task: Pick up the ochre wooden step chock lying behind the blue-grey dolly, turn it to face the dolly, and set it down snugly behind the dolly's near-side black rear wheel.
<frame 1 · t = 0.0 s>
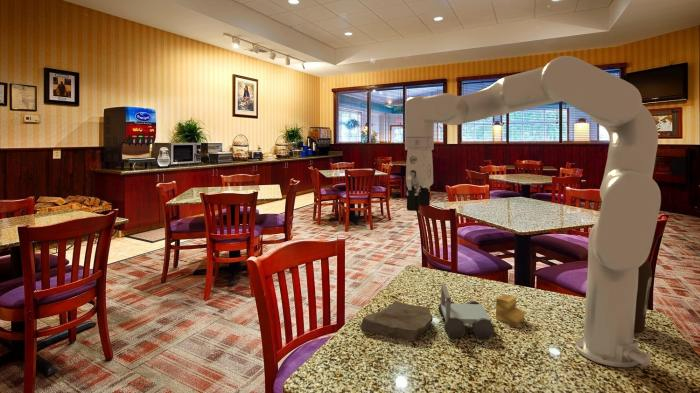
hand: (418, 208, 109), 31 cm above the table, tool pointing down, fingers open, 9 cm apart
trolley: (464, 327, 106), on the table
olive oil: (622, 326, 107), on the table
marble piece: (399, 327, 108), on the table
wheel chock: (509, 319, 111), on the table
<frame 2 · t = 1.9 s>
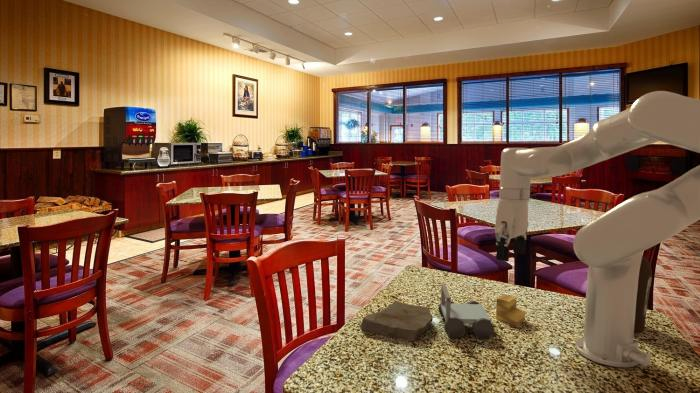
hand: (510, 256, 109), 18 cm above the table, tool pointing down, fingers open, 9 cm apart
nothing on the table moved.
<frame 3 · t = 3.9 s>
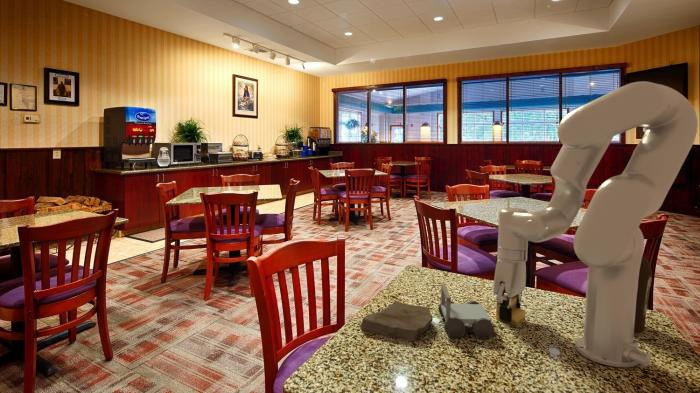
hand: (509, 317, 111), 1 cm above the table, tool pointing down, fingers closed on wheel chock, 4 cm apart
wheel chock: (510, 319, 111), on the table, touching gripper
everything else where it was.
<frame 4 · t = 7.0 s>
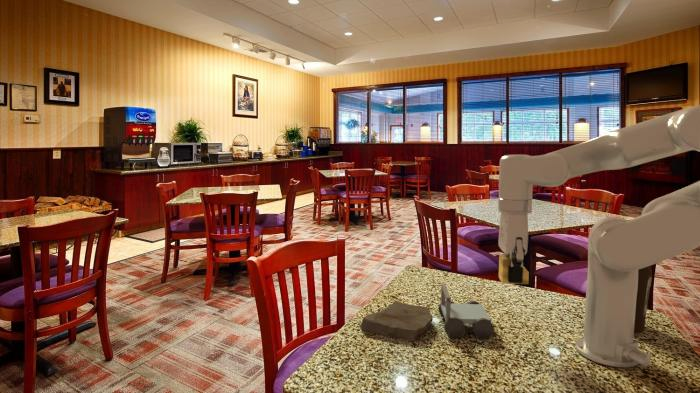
hand: (512, 278, 99), 15 cm above the table, tool pointing down, fingers closed on wheel chock, 4 cm apart
wheel chock: (513, 280, 99), point 15 cm above the table, touching gripper
everything else where it was.
when the fingers open (2 cm above the table, at t = 10.2 s): wheel chock stays where it is, on the table.
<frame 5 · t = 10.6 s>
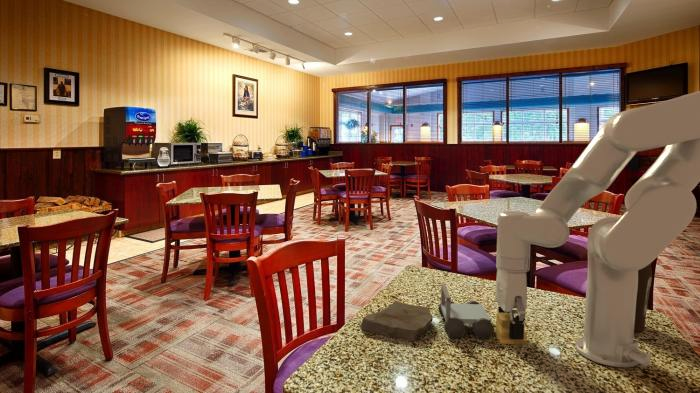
hand: (510, 329, 100), 2 cm above the table, tool pointing down, fingers open, 9 cm apart
wheel chock: (510, 339, 100), on the table
everything else where it was.
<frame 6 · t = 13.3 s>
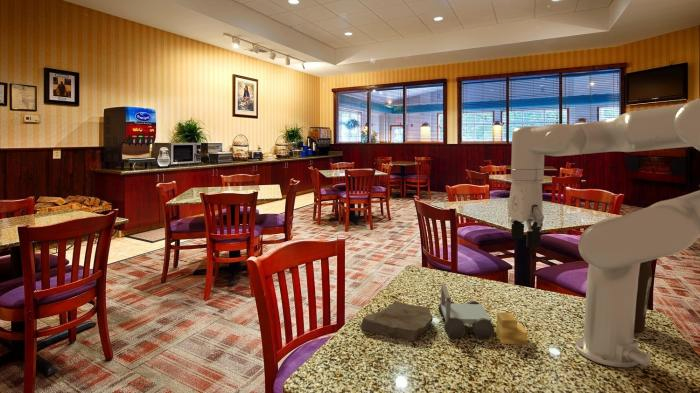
hand: (524, 242, 103), 23 cm above the table, tool pointing down, fingers open, 9 cm apart
nothing on the table moved.
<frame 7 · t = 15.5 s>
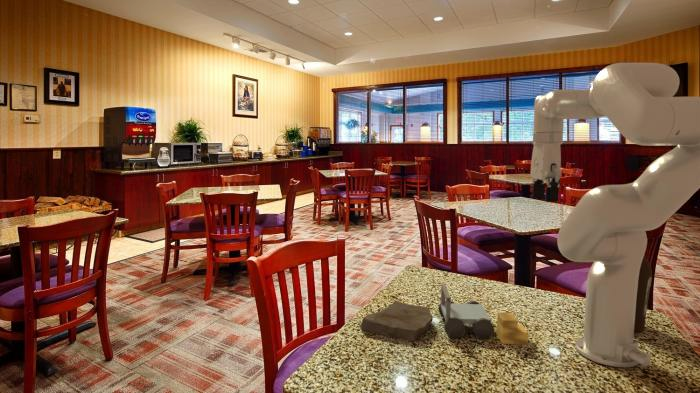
hand: (544, 199, 115), 32 cm above the table, tool pointing down, fingers open, 9 cm apart
nothing on the table moved.
at the end: wheel chock 0.4 cm from the target spot on the table beside the trolley, on the table; wheel chock tilted 0°; the gripper is holding nothing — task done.
